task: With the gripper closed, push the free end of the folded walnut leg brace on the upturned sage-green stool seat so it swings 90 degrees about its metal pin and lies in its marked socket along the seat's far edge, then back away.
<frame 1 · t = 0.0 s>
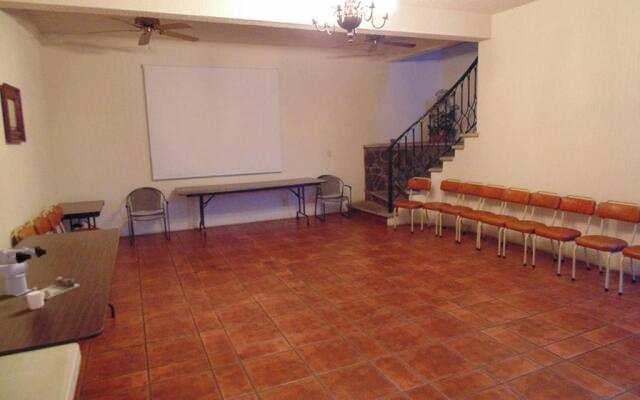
hand: (38, 254, 217), 22 cm above the table, tool horizontal, fingers open, 7 cm apart
shot glass: (37, 307, 207), on the table
seat: (54, 291, 227), on the table
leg: (64, 282, 231), point 3 cm above the table, hinge at 0.0°
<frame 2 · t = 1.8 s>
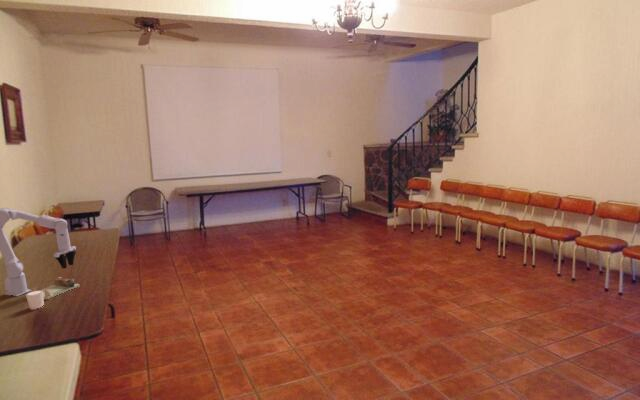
hand: (67, 266, 237), 9 cm above the table, tool pointing down, fingers open, 5 cm apart
nothing on the table moved.
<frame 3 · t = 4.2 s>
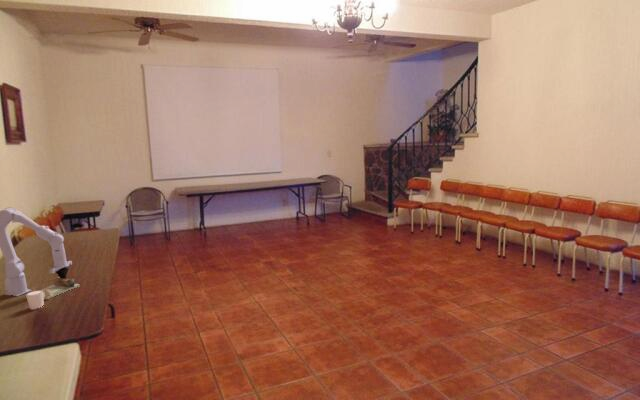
hand: (63, 281, 234), 2 cm above the table, tool pointing down, fingers closed, pressing on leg
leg: (64, 282, 231), point 3 cm above the table, hinge at 1.5°, touching gripper
everything else where it was.
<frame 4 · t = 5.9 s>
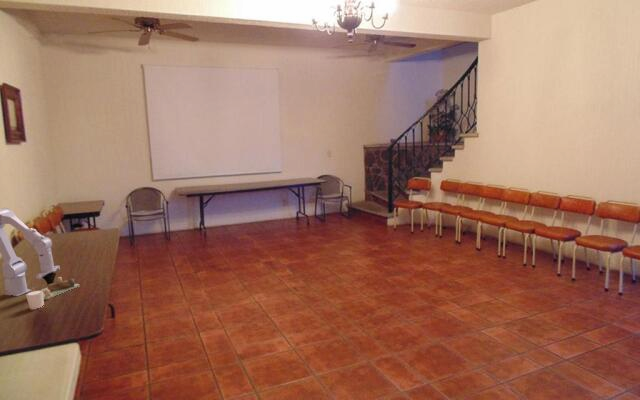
hand: (51, 287, 227), 2 cm above the table, tool pointing down, fingers closed, pressing on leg
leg: (61, 284, 227), point 3 cm above the table, hinge at 54.7°, touching gripper
everything else where it was.
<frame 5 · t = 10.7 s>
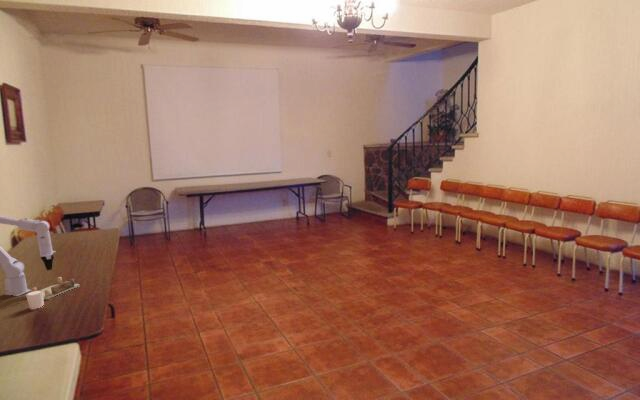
hand: (49, 269, 231), 10 cm above the table, tool pointing down, fingers closed
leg: (63, 285, 225), point 3 cm above the table, hinge at 92.0°
everything else where it was.
at the end: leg at +92° (first picture: +0°); shot glass moved 0.2 cm from its start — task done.
